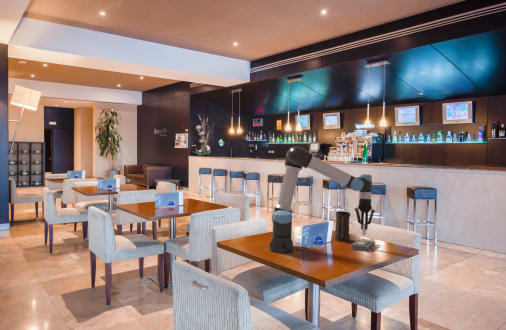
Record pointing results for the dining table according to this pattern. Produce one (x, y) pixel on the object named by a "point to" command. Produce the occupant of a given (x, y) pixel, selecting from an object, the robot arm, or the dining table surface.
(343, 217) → the beer stein
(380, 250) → the dining table surface
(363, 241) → the cream square block
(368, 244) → the grey dice tray
